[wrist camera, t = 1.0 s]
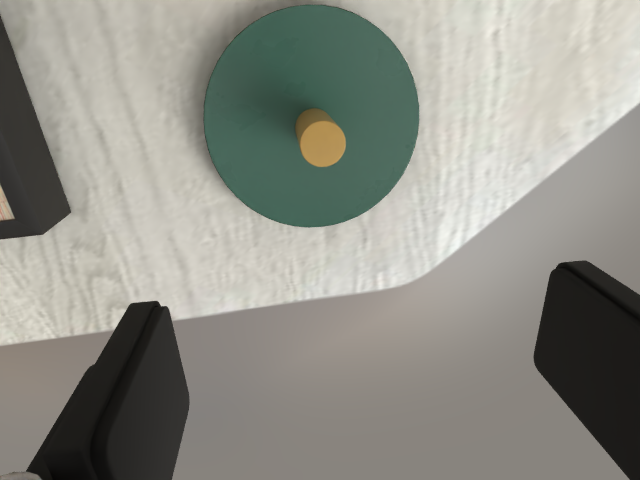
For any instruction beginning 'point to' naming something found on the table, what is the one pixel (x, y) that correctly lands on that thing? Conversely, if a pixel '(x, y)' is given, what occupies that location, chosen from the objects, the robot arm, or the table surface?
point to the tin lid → (311, 115)
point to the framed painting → (24, 159)
